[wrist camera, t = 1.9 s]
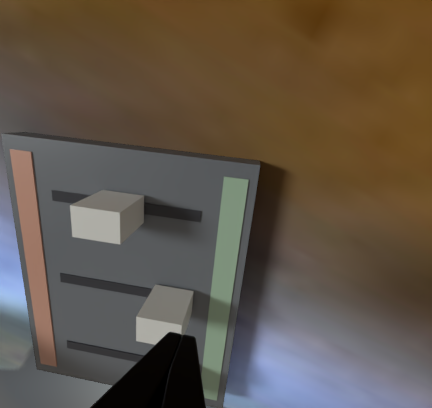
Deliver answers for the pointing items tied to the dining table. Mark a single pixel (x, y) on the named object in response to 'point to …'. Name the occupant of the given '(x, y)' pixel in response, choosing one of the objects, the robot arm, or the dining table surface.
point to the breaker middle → (163, 314)
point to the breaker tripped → (107, 216)
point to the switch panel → (128, 251)
